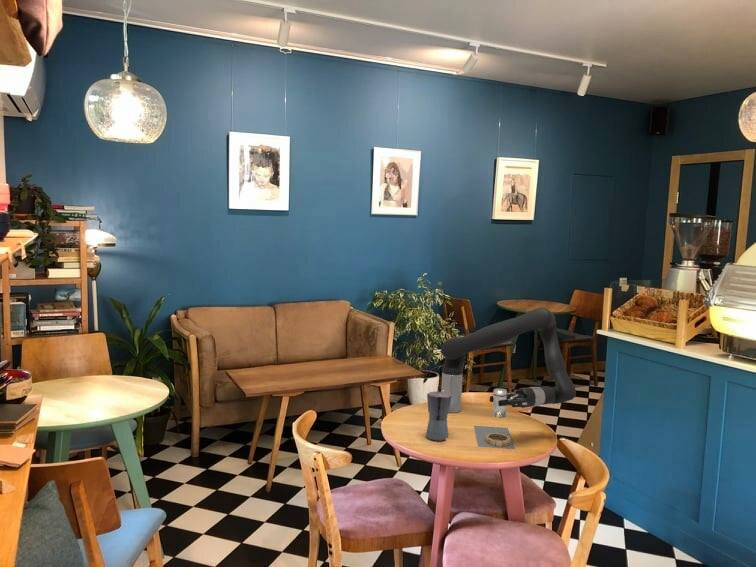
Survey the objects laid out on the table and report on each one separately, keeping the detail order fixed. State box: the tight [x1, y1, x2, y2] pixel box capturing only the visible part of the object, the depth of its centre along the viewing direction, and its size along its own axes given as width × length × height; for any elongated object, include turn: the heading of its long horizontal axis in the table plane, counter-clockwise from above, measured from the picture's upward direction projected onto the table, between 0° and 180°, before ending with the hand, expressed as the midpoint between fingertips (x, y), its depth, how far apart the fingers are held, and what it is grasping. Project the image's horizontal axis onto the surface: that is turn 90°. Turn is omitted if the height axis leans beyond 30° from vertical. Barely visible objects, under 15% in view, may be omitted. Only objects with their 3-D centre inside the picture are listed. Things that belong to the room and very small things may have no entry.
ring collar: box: [485, 433, 512, 447], centre depth 227 cm, size 9×9×2 cm
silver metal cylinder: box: [492, 388, 508, 419], centre depth 226 cm, size 5×5×10 cm
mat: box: [473, 425, 516, 450], centre depth 233 cm, size 14×24×1 cm, turn 174°
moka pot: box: [425, 386, 452, 441], centre depth 231 cm, size 10×15×20 cm, turn 179°
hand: (494, 401), depth 225 cm, fingers closed on silver metal cylinder, 5 cm apart
